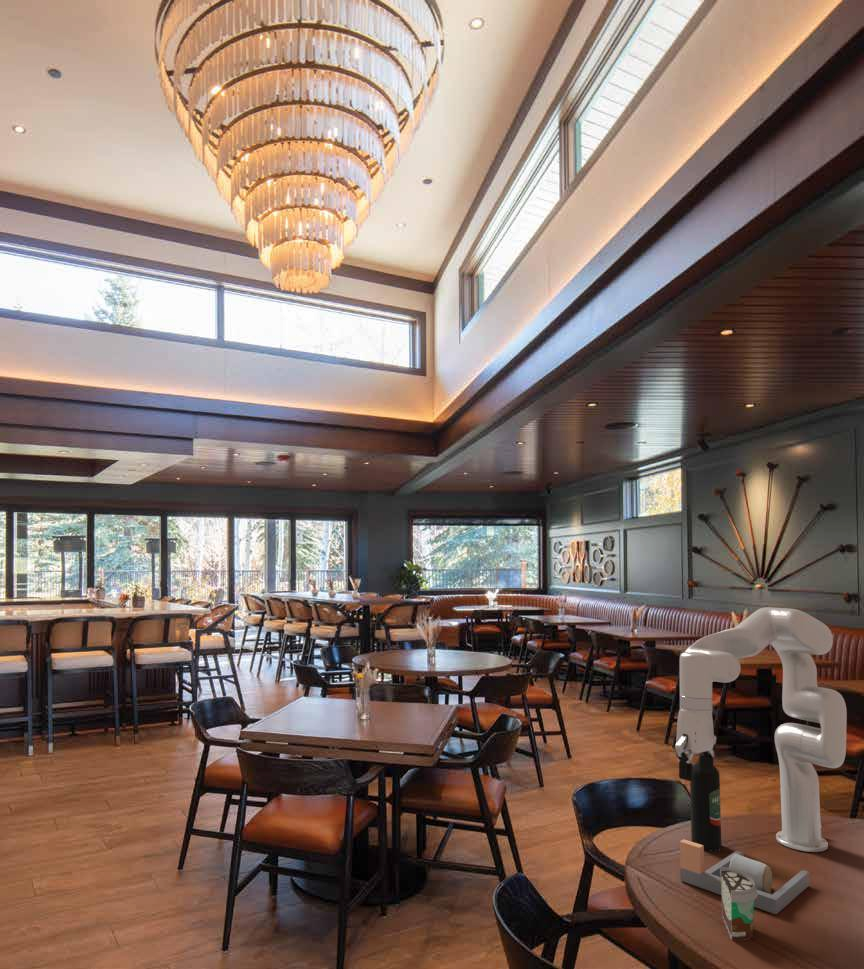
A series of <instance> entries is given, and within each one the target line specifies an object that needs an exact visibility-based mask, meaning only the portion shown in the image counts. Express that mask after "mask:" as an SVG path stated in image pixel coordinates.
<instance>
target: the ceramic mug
mask: <svg viewBox="0 0 864 969" xmlns="http://www.w3.org/2000/svg"><path fill="white" fill-rule="evenodd" d="M729 868H730V869H734V870H737V871H740V872H742V873H744V874H746V875H748V876H749V877H751V878H752V879H753V881H754V883H755V885H756V888H757V890H760V891H763V892H765V893H768V894H771V891H772V885H773V872H772V869H771V867H770V866H769V865H767V864H766V863H764V862H761V861H758V860H755V859H752V858H748V857H747V856H744V855H743V856H741V855H738V854H734V855H733V857H732V858H731V861H730V866H729Z"/></svg>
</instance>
